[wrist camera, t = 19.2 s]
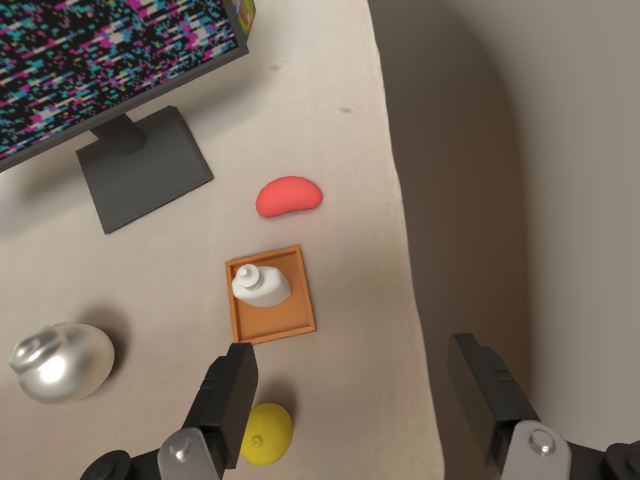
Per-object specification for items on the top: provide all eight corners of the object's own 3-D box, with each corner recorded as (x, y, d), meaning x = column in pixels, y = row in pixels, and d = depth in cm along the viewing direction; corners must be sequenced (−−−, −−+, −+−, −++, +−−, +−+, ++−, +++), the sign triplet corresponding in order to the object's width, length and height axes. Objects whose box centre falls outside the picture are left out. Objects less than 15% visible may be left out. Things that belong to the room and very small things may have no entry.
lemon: (303, 407, 37) (293, 421, 30) (288, 459, 35) (272, 488, 28) (261, 391, 38) (240, 401, 31) (244, 441, 36) (217, 464, 29)
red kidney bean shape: (270, 187, 49) (245, 182, 44) (322, 173, 46) (302, 166, 40) (275, 219, 49) (251, 219, 43) (327, 208, 45) (308, 207, 40)
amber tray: (317, 330, 40) (315, 329, 38) (239, 348, 40) (234, 348, 38) (300, 249, 44) (298, 245, 42) (230, 265, 44) (225, 261, 42)
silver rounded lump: (126, 313, 43) (64, 302, 33) (133, 385, 40) (67, 395, 30) (62, 334, 42) (-19, 329, 33) (63, 409, 39) (-26, 427, 30)
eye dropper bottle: (256, 273, 43) (224, 245, 31) (295, 283, 42) (277, 257, 31) (246, 304, 41) (208, 286, 30) (286, 315, 40) (263, 301, 29)
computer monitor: (25, 278, 46) (-1437, -61, 8) (7, 195, 51) (-925, -240, 14) (286, 142, 50) (112, -476, 13) (244, 78, 56) (35, -487, 18)
